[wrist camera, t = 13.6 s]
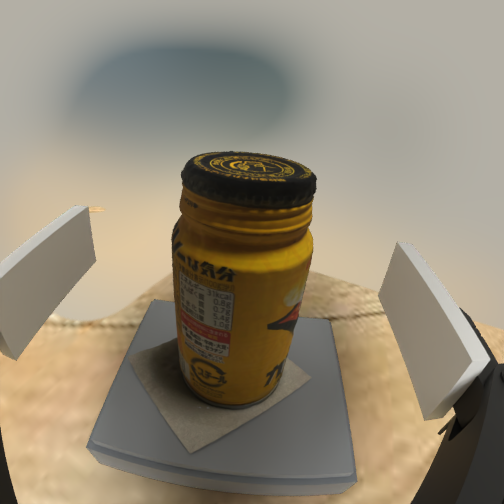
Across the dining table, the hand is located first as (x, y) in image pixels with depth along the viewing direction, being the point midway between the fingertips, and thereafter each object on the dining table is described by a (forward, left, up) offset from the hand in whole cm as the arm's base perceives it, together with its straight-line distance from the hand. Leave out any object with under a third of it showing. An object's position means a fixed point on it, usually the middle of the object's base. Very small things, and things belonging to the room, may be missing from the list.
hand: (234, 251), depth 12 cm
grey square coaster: (0, -1, -12) cm, 12 cm away
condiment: (+1, -1, -9) cm, 9 cm away
